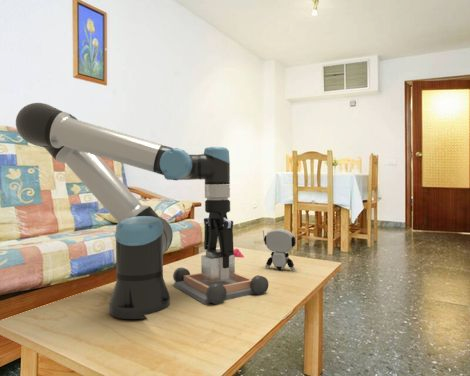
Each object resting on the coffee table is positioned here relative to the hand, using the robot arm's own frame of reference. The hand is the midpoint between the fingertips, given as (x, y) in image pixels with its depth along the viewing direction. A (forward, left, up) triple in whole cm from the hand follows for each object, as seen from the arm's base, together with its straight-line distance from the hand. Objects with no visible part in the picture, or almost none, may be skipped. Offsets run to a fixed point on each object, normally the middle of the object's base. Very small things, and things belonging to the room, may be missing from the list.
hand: (218, 276), depth 104 cm
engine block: (0, 0, 0) cm, 0 cm away
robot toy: (+30, +7, -4) cm, 31 cm away
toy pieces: (+30, +30, -4) cm, 42 cm away
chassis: (0, 0, -4) cm, 4 cm away
